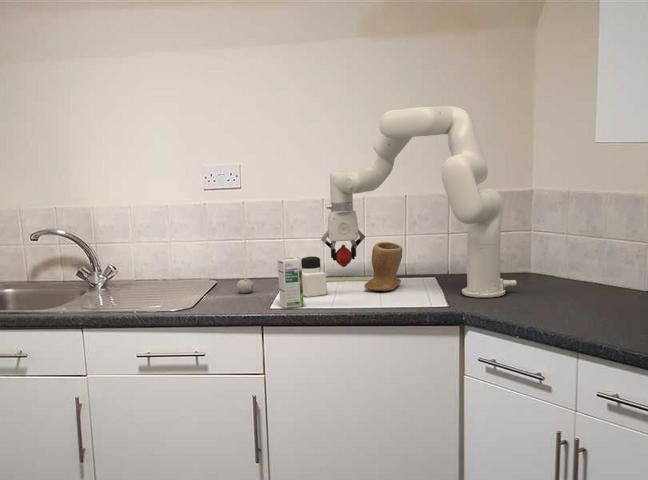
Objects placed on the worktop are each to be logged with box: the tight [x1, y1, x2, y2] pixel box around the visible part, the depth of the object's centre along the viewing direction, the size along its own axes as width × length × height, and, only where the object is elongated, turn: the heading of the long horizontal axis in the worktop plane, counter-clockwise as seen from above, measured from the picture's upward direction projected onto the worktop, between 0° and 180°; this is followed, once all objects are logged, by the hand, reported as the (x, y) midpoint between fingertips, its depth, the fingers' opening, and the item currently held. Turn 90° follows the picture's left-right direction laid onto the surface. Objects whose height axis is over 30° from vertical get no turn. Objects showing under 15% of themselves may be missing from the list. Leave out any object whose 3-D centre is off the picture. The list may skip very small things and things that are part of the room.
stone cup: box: [364, 241, 403, 292], centre depth 243 cm, size 15×12×15 cm
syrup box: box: [277, 256, 305, 309], centre depth 226 cm, size 6×6×14 cm
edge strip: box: [326, 275, 374, 282], centre depth 264 cm, size 20×6×1 cm, turn 81°
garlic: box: [236, 277, 254, 295], centre depth 250 cm, size 6×5×5 cm
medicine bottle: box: [300, 255, 328, 298], centre depth 242 cm, size 7×7×12 cm
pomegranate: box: [335, 243, 353, 268], centre depth 263 cm, size 6×6×8 cm
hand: (343, 259), depth 263 cm, fingers closed on pomegranate, 5 cm apart
